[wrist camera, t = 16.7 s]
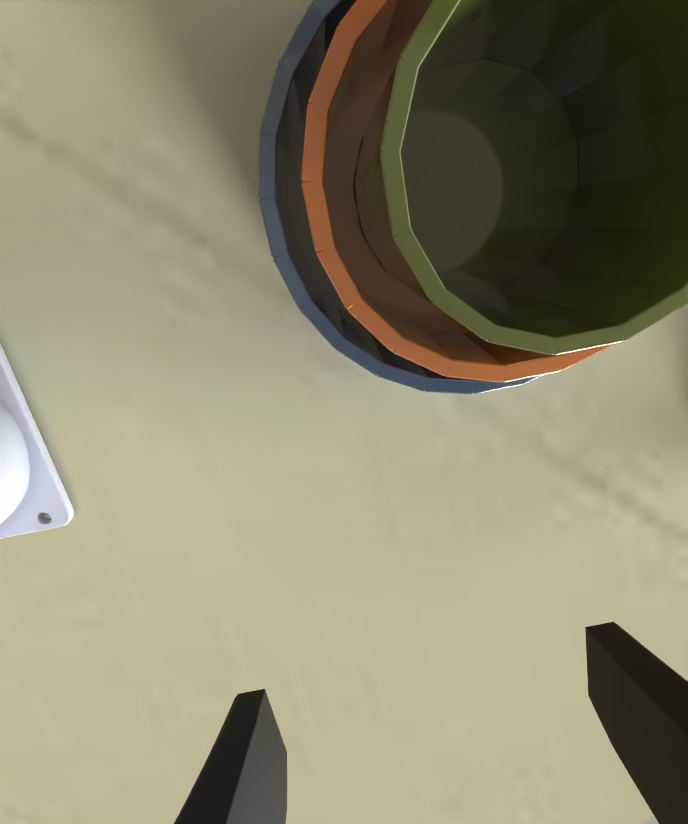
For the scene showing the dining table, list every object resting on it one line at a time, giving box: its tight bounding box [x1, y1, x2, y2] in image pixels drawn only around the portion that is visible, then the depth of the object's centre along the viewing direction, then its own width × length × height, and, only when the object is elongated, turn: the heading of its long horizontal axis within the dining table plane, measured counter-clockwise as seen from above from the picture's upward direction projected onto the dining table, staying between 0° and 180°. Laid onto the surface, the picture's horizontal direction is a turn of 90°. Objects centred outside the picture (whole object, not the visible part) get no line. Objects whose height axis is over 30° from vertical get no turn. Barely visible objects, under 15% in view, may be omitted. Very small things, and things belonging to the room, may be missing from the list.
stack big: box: [259, 0, 543, 394], centre depth 14 cm, size 10×10×5 cm
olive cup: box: [355, 0, 688, 355], centre depth 10 cm, size 6×6×6 cm
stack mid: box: [301, 0, 616, 383], centre depth 13 cm, size 8×8×8 cm
